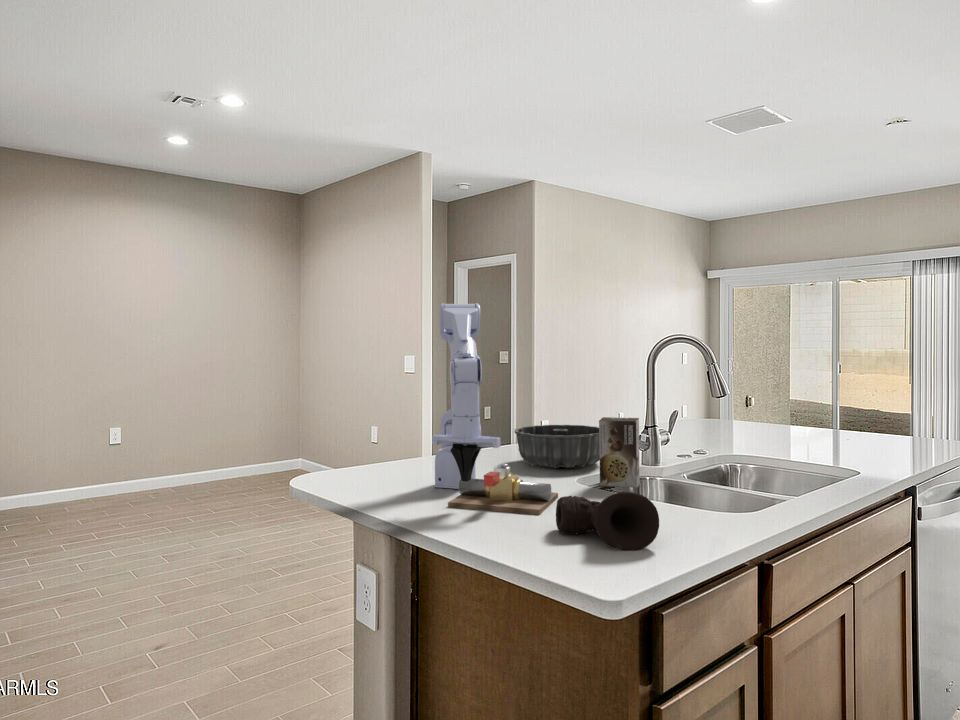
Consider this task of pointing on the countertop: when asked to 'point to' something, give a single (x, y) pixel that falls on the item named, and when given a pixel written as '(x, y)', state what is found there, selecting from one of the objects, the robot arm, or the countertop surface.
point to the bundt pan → (559, 445)
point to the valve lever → (496, 475)
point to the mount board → (502, 504)
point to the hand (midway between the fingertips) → (466, 480)
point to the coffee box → (619, 452)
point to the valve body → (507, 489)
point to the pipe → (611, 519)
